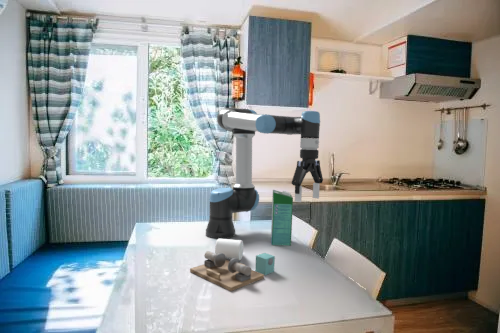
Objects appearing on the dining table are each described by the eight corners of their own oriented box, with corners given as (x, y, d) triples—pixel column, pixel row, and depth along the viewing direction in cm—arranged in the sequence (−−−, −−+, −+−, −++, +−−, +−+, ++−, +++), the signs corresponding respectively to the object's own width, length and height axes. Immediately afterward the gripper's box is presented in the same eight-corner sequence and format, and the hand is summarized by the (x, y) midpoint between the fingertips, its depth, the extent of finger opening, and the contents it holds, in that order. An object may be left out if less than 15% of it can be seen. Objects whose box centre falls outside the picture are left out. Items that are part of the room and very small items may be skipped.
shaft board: (190, 271, 127) (190, 253, 127) (222, 261, 139) (223, 244, 138) (231, 291, 112) (231, 270, 111) (264, 278, 123) (264, 258, 123)
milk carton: (291, 245, 162) (293, 192, 160) (271, 245, 162) (273, 192, 160) (289, 240, 171) (291, 190, 169) (270, 239, 171) (272, 189, 169)
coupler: (254, 271, 130) (255, 255, 130) (263, 267, 134) (264, 252, 133) (265, 275, 126) (266, 259, 126) (274, 271, 130) (275, 256, 129)
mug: (238, 263, 138) (239, 243, 137) (214, 260, 140) (215, 241, 139) (245, 253, 149) (245, 235, 149) (222, 251, 151) (223, 233, 151)
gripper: (300, 149, 131) (297, 204, 133) (332, 149, 150) (330, 197, 151) (284, 148, 136) (282, 202, 138) (317, 148, 155) (315, 195, 156)
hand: (307, 199), depth 145 cm, fingers open, 13 cm apart
